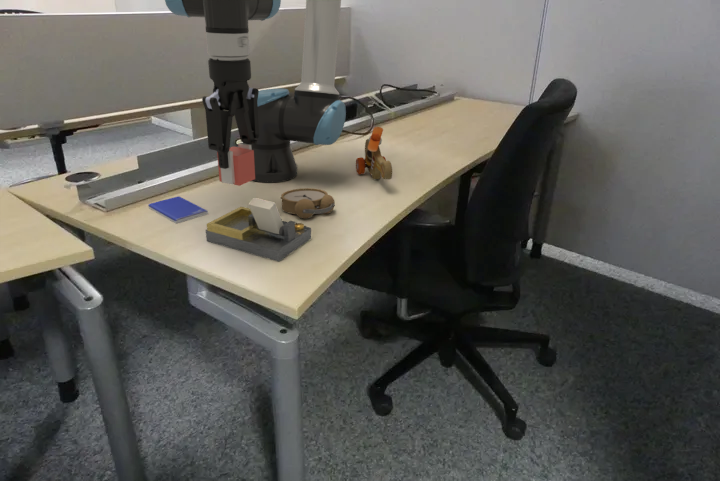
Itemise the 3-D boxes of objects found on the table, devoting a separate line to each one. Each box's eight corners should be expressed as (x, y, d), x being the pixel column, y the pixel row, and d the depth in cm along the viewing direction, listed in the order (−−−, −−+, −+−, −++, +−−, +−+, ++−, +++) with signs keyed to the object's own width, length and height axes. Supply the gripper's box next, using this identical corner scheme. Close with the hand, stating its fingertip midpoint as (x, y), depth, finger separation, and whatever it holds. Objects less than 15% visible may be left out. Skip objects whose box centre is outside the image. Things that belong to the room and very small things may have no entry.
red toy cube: (235, 174, 108) (233, 146, 105) (255, 178, 106) (253, 150, 103) (219, 181, 104) (217, 152, 101) (239, 185, 102) (237, 156, 99)
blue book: (207, 209, 120) (179, 195, 127) (175, 219, 115) (147, 203, 122) (208, 216, 121) (180, 201, 128) (176, 225, 115) (148, 210, 123)
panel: (243, 220, 117) (241, 195, 115) (311, 238, 110) (310, 212, 108) (206, 240, 108) (203, 213, 105) (278, 261, 101) (277, 233, 98)
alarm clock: (312, 185, 132) (344, 193, 120) (314, 204, 134) (345, 214, 122) (272, 193, 126) (301, 202, 114) (274, 212, 128) (303, 224, 116)
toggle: (263, 225, 107) (251, 196, 102) (287, 231, 105) (277, 202, 99) (258, 231, 106) (246, 203, 100) (282, 238, 104) (271, 209, 98)
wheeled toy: (380, 168, 155) (383, 123, 149) (403, 193, 137) (407, 142, 131) (354, 170, 153) (355, 123, 147) (373, 195, 135) (375, 143, 129)
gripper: (211, 63, 86) (222, 196, 96) (275, 55, 100) (279, 170, 110) (177, 60, 89) (191, 188, 99) (244, 51, 103) (250, 164, 113)
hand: (237, 178), depth 105 cm, fingers closed on red toy cube, 5 cm apart
